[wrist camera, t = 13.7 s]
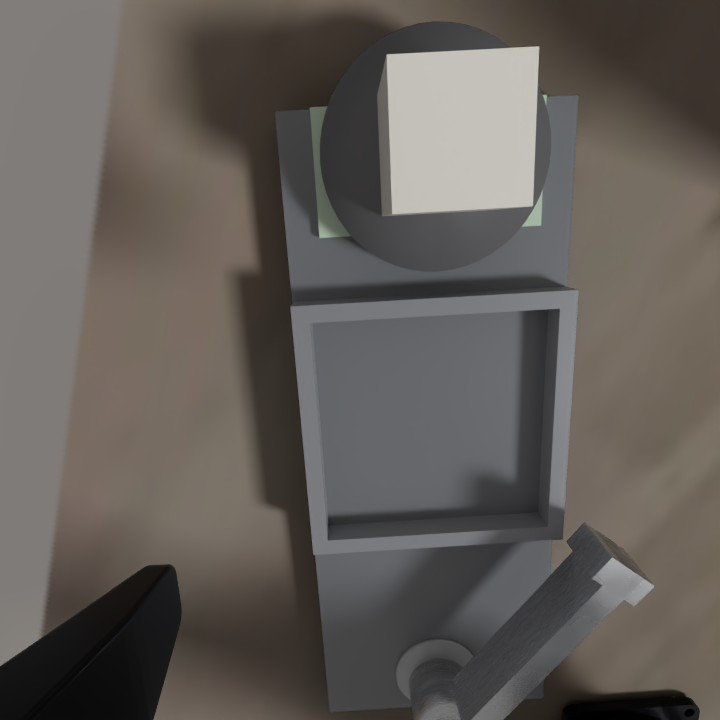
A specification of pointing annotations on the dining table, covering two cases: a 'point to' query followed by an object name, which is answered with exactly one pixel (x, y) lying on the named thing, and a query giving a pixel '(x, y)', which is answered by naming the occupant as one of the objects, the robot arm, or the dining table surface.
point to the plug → (436, 145)
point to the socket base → (427, 425)
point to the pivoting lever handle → (532, 635)
